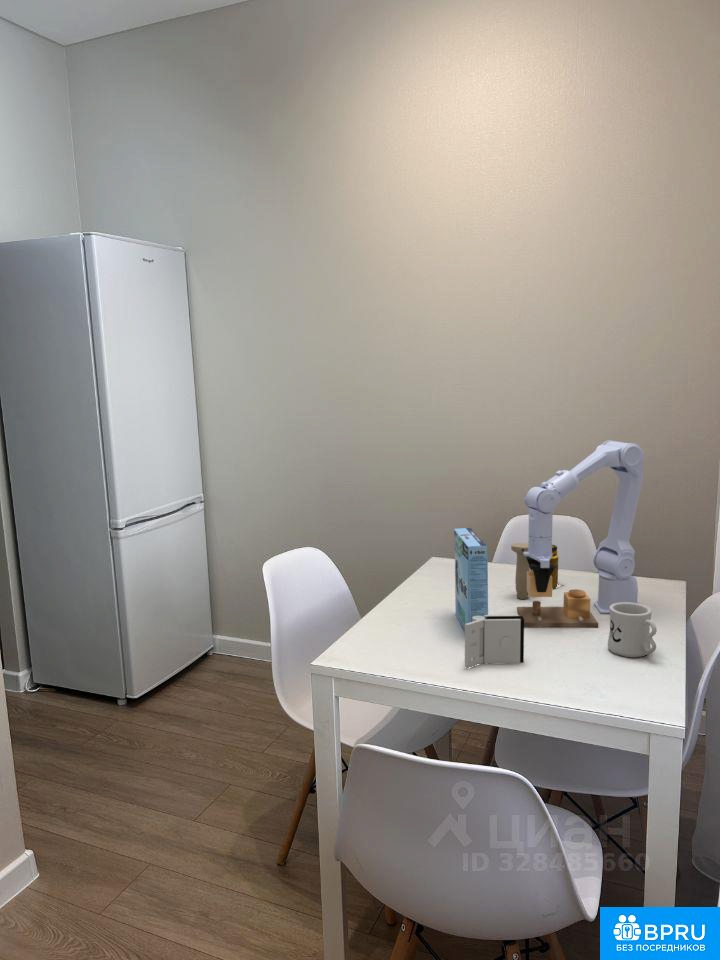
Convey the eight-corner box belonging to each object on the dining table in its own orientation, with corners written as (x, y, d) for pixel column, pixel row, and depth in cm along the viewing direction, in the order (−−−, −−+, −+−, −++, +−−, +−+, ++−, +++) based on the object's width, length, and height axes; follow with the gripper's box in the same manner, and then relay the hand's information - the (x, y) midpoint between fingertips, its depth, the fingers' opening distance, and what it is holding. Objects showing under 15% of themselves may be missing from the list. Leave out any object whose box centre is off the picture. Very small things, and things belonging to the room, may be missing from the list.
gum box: (488, 640, 176) (488, 545, 173) (467, 640, 176) (467, 546, 172) (473, 612, 195) (473, 527, 192) (453, 613, 195) (453, 528, 192)
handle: (534, 601, 203) (535, 548, 201) (510, 600, 205) (510, 546, 202) (534, 596, 208) (535, 543, 205) (511, 594, 209) (511, 542, 207)
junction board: (586, 611, 194) (587, 584, 193) (598, 627, 183) (599, 599, 181) (517, 611, 196) (517, 584, 195) (523, 627, 184) (524, 599, 183)
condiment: (563, 585, 217) (564, 545, 215) (548, 592, 211) (548, 551, 209) (542, 580, 222) (542, 541, 220) (525, 587, 216) (526, 546, 214)
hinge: (465, 670, 160) (465, 625, 158) (457, 660, 165) (457, 616, 163) (526, 663, 162) (526, 619, 161) (516, 654, 168) (517, 611, 166)
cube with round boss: (548, 590, 190) (548, 567, 189) (552, 596, 185) (552, 573, 184) (526, 590, 190) (526, 567, 189) (530, 596, 185) (530, 573, 184)
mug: (598, 647, 170) (600, 605, 169) (629, 640, 174) (631, 599, 172) (638, 667, 159) (640, 622, 158) (670, 659, 163) (672, 615, 161)
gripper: (519, 529, 193) (518, 579, 195) (528, 542, 178) (527, 597, 180) (547, 528, 192) (546, 579, 194) (558, 542, 178) (557, 597, 180)
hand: (539, 588), depth 187 cm, fingers closed on cube with round boss, 5 cm apart
